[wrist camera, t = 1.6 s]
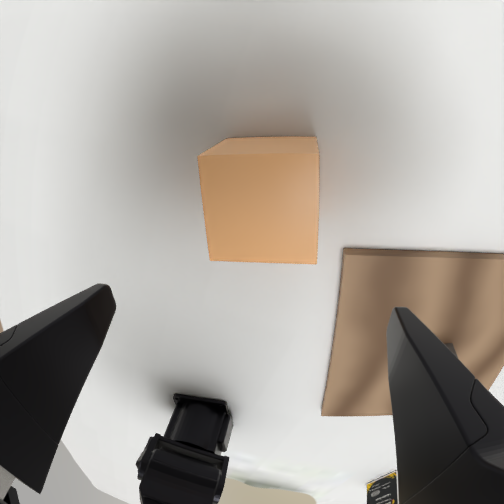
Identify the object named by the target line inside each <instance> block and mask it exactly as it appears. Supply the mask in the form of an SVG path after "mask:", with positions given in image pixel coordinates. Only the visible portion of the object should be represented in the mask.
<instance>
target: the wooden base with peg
mask: <svg viewBox="0 0 504 504" xmlns="http://www.w3.org/2000/svg"><path fill="white" fill-rule="evenodd" d="M394 307H407V308H408V309H409V310H411V311H412V312H413V313H414V314H415V315H416V316H417V317H418V318H419V319H420V320H421V321H422V322H423V323H424V324H425V325H426V326H427V327H428V328H429V329H430V330H431V331H432V332H433V333H434V334H435V335H436V336H437V337H438V338H439V339H440V340H441V341H442V342H443V343H444V344H445V345H446V346H447V347H448V348H449V350H450V351H451V352H452V353H453V354H454V355H455V356H456V357H457V358H458V359H459V360H460V361H461V362H462V363H463V364H464V365H465V366H466V367H467V368H468V369H469V371H470V372H471V373H472V374H473V375H474V376H475V379H476V378H477V379H478V380H479V381H480V382H481V383H482V384H483V386H484V387H485V388H486V389H487V390H489V389H490V387H491V385H492V384H493V382H494V381H495V379H496V377H497V376H498V374H499V373H500V371H501V369H502V367H503V366H504V254H496V253H470V252H443V251H414V250H384V249H352V248H344V250H343V261H342V272H341V282H340V291H339V300H338V308H337V316H336V324H335V331H334V338H333V345H332V352H331V358H330V364H329V370H328V376H327V382H326V388H325V393H324V399H323V404H322V411H321V416H380V415H393V414H392V405H391V397H390V390H389V381H388V358H387V337H386V332H387V326H388V323H389V320H390V316H391V312H392V310H393V308H394Z"/></svg>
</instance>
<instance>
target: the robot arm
mask: <svg viewBox="0 0 504 504" xmlns="http://www.w3.org/2000/svg"><path fill="white" fill-rule="evenodd" d="M115 311H116V303H115V300H114V297H113V294H112V291H111V288H110V286H109V285H107V284H96V285H94V286H92V287H90V288H88V289H86V290H84V291H82V292H80V293H78V294H76V295H74V296H72V297H70V298H68V299H66V300H64V301H62V302H60V303H58V304H56V305H54V306H52V307H50V308H48V309H46V310H44V311H42V312H40V313H38V314H36V315H34V316H33V317H31V318H29V319H27V320H25V321H23V322H21V323H19V324H18V325H15V326H13V327H11V328H10V329H8V330H6V331H4V332H2V333H0V504H20V503H19V500H18V495H17V491H16V489H15V488H13V487H12V486H11V485H12V483H13V481H14V479H15V478H17V479H18V480H20V481H21V482H23V483H24V484H25V485H27V486H29V487H30V488H31V489H33V490H34V491H36V492H37V493H39V494H40V493H41V491H42V489H43V486H44V483H45V480H46V477H47V474H48V472H49V469H50V466H51V463H52V461H53V458H54V455H55V453H56V450H57V447H58V444H59V442H60V439H61V437H62V434H63V432H64V429H65V427H66V425H67V422H68V420H69V417H70V415H71V413H72V410H73V408H74V406H75V403H76V401H77V399H78V397H79V394H80V392H81V390H82V388H83V385H84V383H85V381H86V379H87V377H88V374H89V372H90V370H91V368H92V366H93V364H94V362H95V360H96V358H97V355H98V353H99V351H100V349H101V347H102V345H103V342H104V339H105V337H106V334H107V331H108V329H109V326H110V324H111V321H112V318H113V316H114V313H115ZM386 337H387V358H388V381H389V390H390V397H391V405H392V414H393V423H394V433H395V444H396V456H397V472H398V496H399V504H504V406H503V405H502V404H501V403H500V402H499V401H498V400H497V399H496V398H495V397H494V396H493V395H492V394H491V393H490V392H489V391H488V390H487V389H486V388H485V387H484V386H483V384H482V383H481V382H480V381H479V380H478V379H477V378H476V379H475V376H474V375H473V374H472V373H471V372H470V371H469V369H468V368H467V367H466V366H465V365H464V364H463V363H462V362H461V361H460V360H459V359H458V358H457V357H456V356H455V355H454V354H453V353H452V352H451V351H450V350H449V348H448V347H447V346H446V345H445V344H444V343H443V342H442V341H441V340H440V339H439V338H438V337H437V336H436V335H435V334H434V333H433V332H432V331H431V330H430V329H429V328H428V327H427V326H426V325H425V324H424V323H423V322H422V321H421V320H420V319H419V318H418V317H417V316H416V315H415V314H414V313H413V312H412V311H411V310H409V309H408V308H407V307H394V308H393V310H392V312H391V316H390V320H389V323H388V326H387V332H386ZM173 399H174V402H175V404H176V407H175V409H174V412H173V414H172V417H171V419H170V422H169V424H168V427H167V429H166V432H165V434H164V437H163V436H161V435H160V434H157V433H156V434H155V436H154V437H150V438H149V440H148V443H147V445H146V447H145V449H144V451H143V452H142V454H141V455H140V457H139V458H138V460H137V462H136V466H137V468H138V479H139V480H141V483H140V486H139V493H140V501H141V504H217V503H218V502H219V499H220V497H221V494H222V491H223V488H224V483H225V478H226V473H227V467H228V462H229V457H227V456H221V452H225V451H227V447H228V443H229V439H230V435H231V431H232V428H233V423H232V418H231V415H230V414H229V413H228V408H227V404H226V403H225V402H224V401H218V400H211V399H204V398H198V397H191V396H186V395H180V394H174V396H173Z"/></svg>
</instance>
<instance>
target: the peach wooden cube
mask: <svg viewBox="0 0 504 504" xmlns="http://www.w3.org/2000/svg"><path fill="white" fill-rule="evenodd" d="M197 157H198V167H199V176H200V185H201V194H202V202H203V211H204V219H205V227H206V235H207V243H208V250H209V258H210V261H233V262H262V263H292V264H317V249H318V221H319V149H318V143H317V138H316V137H305V136H280V137H241V138H226V139H225V140H223V141H221V142H220V143H218V144H216V145H215V146H213V147H211V148H210V149H208V150H206V151H205V152H203V153H202V154H200V155H198V156H197Z"/></svg>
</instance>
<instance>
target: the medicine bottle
mask: <svg viewBox="0 0 504 504" xmlns="http://www.w3.org/2000/svg"><path fill="white" fill-rule="evenodd" d="M367 504H399V496H398V472H397V471H394V472H392V473H390V474H387V475H385V476H383V477H381V478H379V479H377V480H374V481H372V482H370V483H368V484H367Z"/></svg>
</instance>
